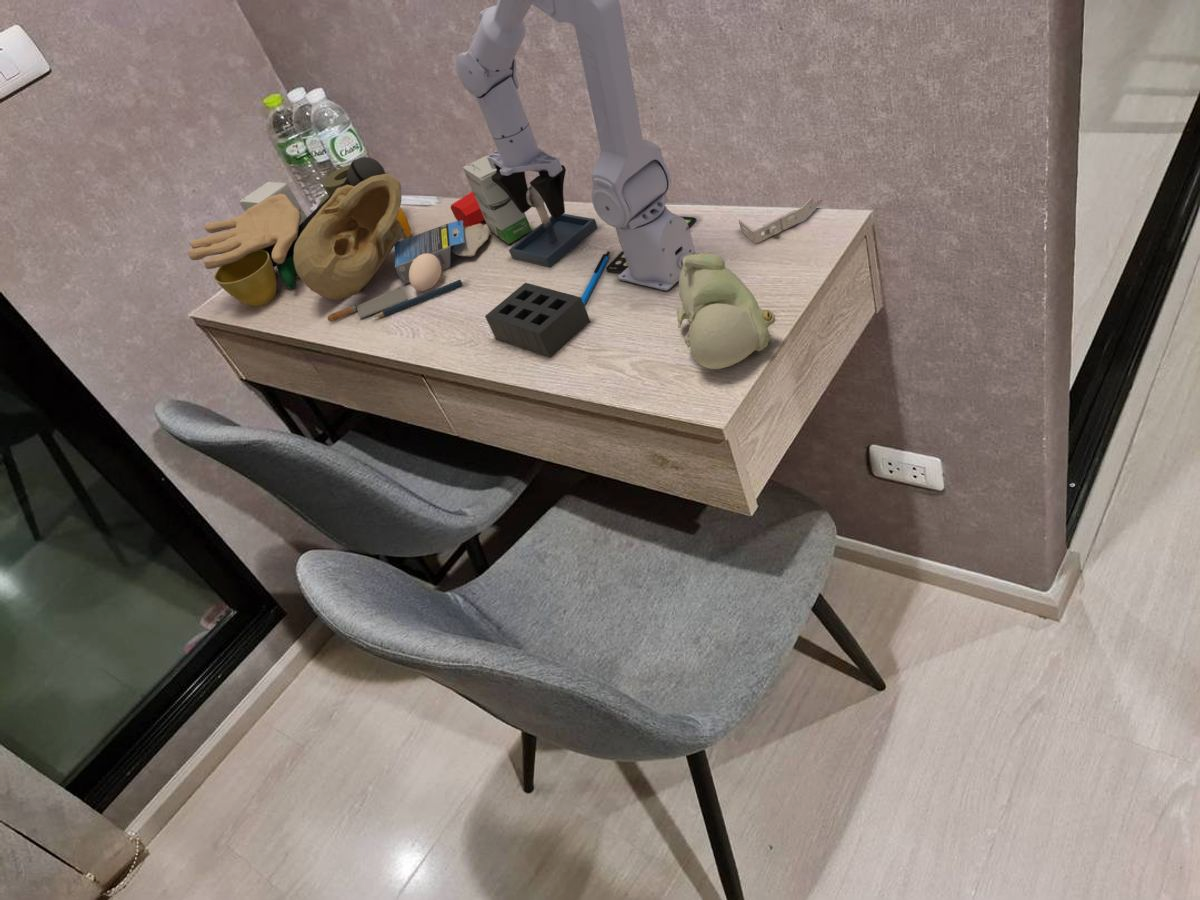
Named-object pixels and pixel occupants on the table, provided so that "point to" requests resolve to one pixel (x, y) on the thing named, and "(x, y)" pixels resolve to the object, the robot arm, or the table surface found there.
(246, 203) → the white packaging box
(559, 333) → the rack
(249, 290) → the flower pot
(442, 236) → the label tape box
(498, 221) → the ink box
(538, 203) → the spoon
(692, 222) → the smartphone
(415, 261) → the egg
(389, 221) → the ear model
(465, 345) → the table surface
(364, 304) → the cleaver
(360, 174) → the microphone
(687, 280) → the figurine
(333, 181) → the flange
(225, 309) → the table surface
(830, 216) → the table surface
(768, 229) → the bracket
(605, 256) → the pen
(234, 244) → the hand model
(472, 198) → the french fries
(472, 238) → the artifact
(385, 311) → the pencil
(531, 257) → the tray
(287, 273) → the gaming controller
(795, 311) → the table surface
